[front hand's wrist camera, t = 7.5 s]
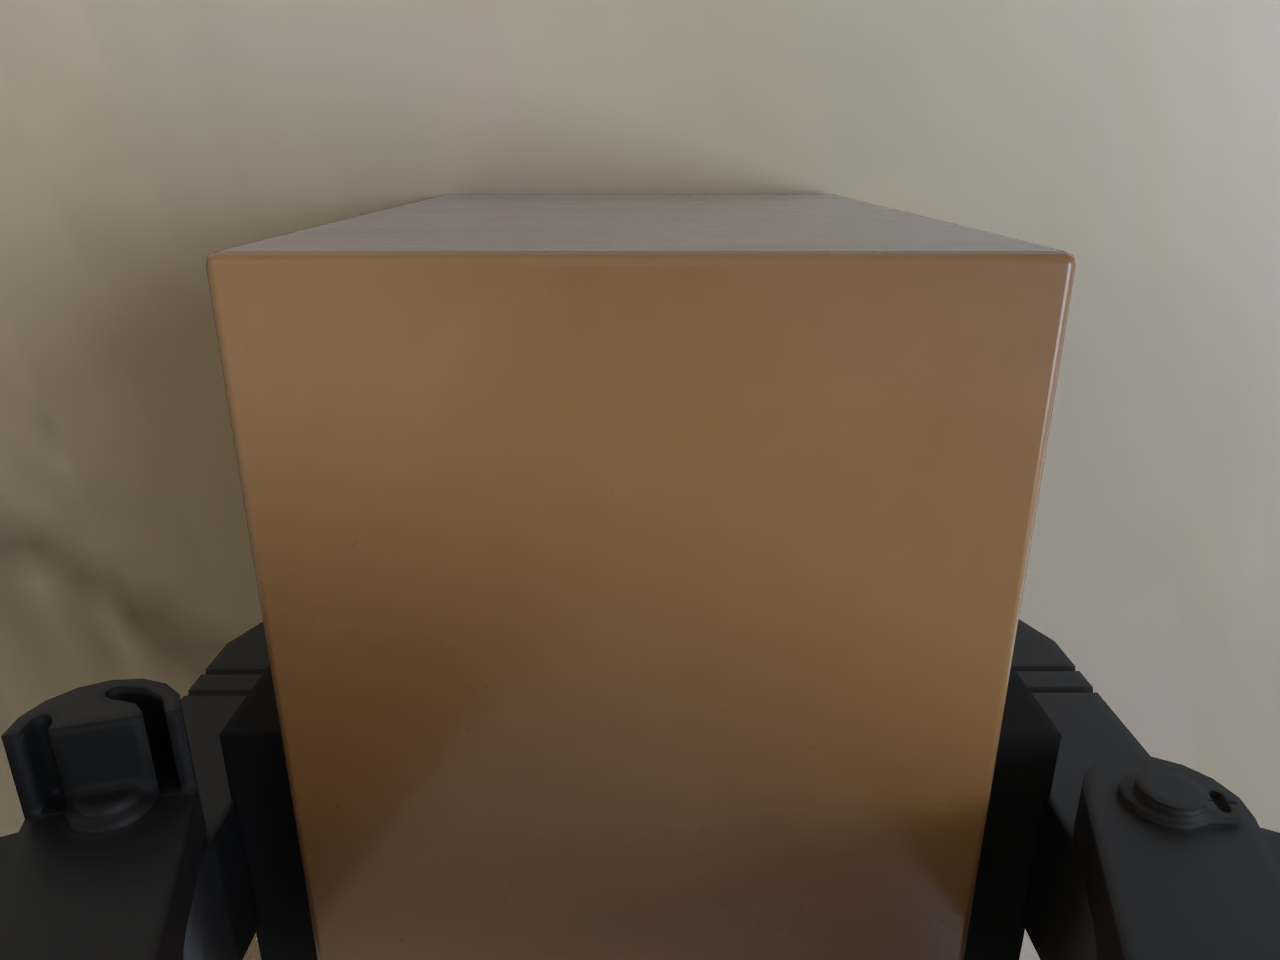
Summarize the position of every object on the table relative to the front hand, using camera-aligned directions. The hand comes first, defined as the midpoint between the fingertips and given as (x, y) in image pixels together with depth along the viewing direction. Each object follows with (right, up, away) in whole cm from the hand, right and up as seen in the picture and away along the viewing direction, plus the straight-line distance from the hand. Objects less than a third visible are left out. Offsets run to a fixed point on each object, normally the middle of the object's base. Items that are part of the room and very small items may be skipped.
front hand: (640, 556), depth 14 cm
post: (0, -28, +11) cm, 30 cm away
